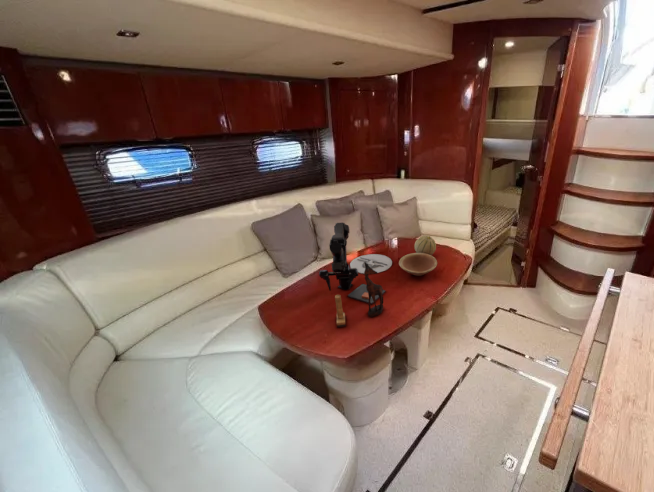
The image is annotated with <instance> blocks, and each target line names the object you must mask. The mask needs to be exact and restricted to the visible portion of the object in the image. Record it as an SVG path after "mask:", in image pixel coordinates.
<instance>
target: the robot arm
mask: <svg viewBox="0 0 654 492" xmlns="http://www.w3.org/2000/svg"><path fill="white" fill-rule="evenodd" d="M333 228H334V229H333V230H334V234H333V235H332V236H331V238H330V240H329V251H330V253H331V255H332V263H331V270H332V271H329V270H328V269H320V270H319V272H318V276H319V278H320V279H322V280H324V281H325V282H326V284H327V287H328V290H329V292H331V290H332V288H331V287H332V286H331V279H330V277H333V276H334V277H335V279H336V281H338V284H339V285H338V286H337V288H338V289H341V290H344V291H347V290H350V289H351V287H353V286H354V284H352V283H353V281H354V280H355V279H356V277H359V273H358V270H357V268H351V267H350V264H349V263H348V260H347V258H348V257H347V245H348V239H349V235H350V233H351V231H350V226H349V225H348V224H346V223H345V222H336V223H335V225H334V226H333Z"/></svg>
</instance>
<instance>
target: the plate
mask: <svg viewBox="0 0 654 492" xmlns="http://www.w3.org/2000/svg"><path fill="white" fill-rule="evenodd" d="M365 262H366V263H367V264H368V265H369V267H370V268H372V269H373V270H375V271H376V272H377V274H379V273H382V272H383V273H384V272H385V271H387V270H389V269H390V268H391V267H392V265H393V261H392V259H391V258H390V257H389V256H386V255H384V254H377V253H370V254H369V253H368V254H364V255H360V256H357V257H355V258H354V259H353V260H351V261H350V263H349V268H350V269H351V268H357V270H358V274H362V275H364V271H365Z"/></svg>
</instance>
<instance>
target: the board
mask: <svg viewBox="0 0 654 492" xmlns="http://www.w3.org/2000/svg"><path fill="white" fill-rule="evenodd" d="M366 286H367V284H366V283H361V284H360V285H359V286H358V287H356V288H354V290H352V291H351V292H350V293H348V294H347V297H348V298H350V299H353V300H356V301H359V302H363V303H365V304H368V305H369V299H366V298H362V295H363V294H364V292H366V293H368V291H367V288H366ZM385 293H386V290H385V289H383V291H382V296H383V295H384V294H385ZM379 299H380V297H379V295H375V302H376V301H378V300H379ZM373 304H374V301H373V299H372V296H371V299H370V306H372V305H373Z"/></svg>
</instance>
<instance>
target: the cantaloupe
mask: <svg viewBox="0 0 654 492" xmlns="http://www.w3.org/2000/svg"><path fill="white" fill-rule="evenodd" d="M413 248H414V251H415V253H425V254H429V255H431V256H433V255H434V254H435V252H436V250H437V243H436V241H435V239H434V238H433V237H432V236H431V235H422V236H419V237H418V238H417V239H416V240H415V242H414V247H413Z"/></svg>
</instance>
